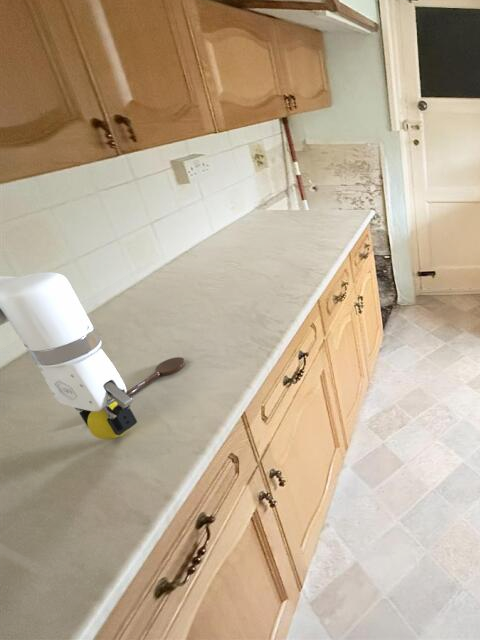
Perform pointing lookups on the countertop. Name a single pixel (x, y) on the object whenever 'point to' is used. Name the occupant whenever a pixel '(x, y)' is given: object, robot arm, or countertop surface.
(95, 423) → the lemon
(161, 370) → the spoon
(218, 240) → the countertop surface
